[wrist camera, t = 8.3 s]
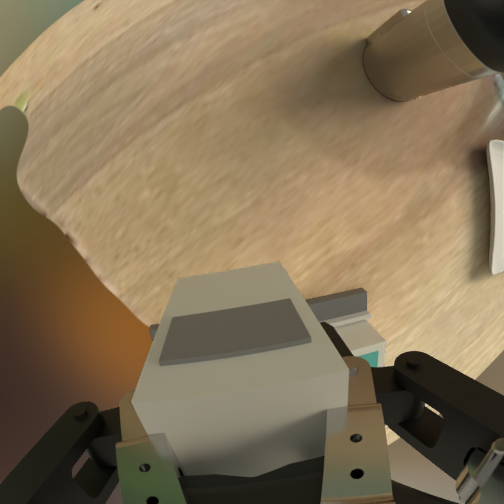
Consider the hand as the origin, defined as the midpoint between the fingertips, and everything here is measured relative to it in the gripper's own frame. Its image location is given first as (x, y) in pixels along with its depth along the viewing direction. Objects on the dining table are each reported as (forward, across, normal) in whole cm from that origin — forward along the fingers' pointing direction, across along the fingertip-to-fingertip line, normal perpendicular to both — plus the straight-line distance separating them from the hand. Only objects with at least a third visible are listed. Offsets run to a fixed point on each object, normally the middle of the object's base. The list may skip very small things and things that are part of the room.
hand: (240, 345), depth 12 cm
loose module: (+2, 0, 0) cm, 2 cm away
